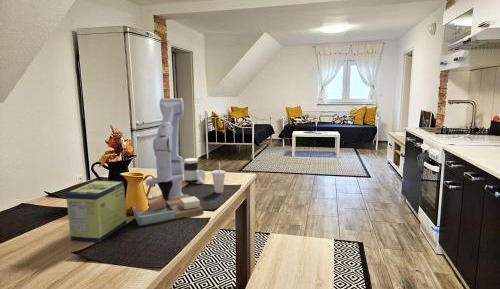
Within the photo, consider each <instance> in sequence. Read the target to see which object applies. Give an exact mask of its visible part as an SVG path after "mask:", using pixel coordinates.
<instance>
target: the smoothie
mask: <svg viewBox="0 0 500 289" xmlns="http://www.w3.org/2000/svg"><path fill="white" fill-rule="evenodd" d="M211 175H212V180H213V187H214V192H215V193H216V194H222V193H224V187H225V186H224V185H225V175H226V170H223V169H221V162H218V169H216V170H212V171H211Z"/></svg>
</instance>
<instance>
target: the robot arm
mask: <svg viewBox="0 0 500 289" xmlns="http://www.w3.org/2000/svg"><path fill="white" fill-rule="evenodd" d="M159 110H160V112H161V115H162V122H161V123H159V125H158V129H157V132H156V137H155V138H154V139H153V140H152V141H153V142H152V149H153V154H154V156H155V164H156V165H155V166H156V177H153V178H148V179H144V180H145V185H146V186H150V185H157V186H158V187H159V190H160V192H161V194H162V195H161V196H163V198H164V199H165V201H167V200H168V197H174V196H180V195H184V193H183V192H182V181H184V160H185V159H183V156H182V157H181V156H180V155H179V128H180V127H179V125H180V120H181V119H183V118H184V114H185V113H184V112H185V103H184V99H183V98H182V97H180V98H179V97H178V98H177V97H176V98H175V97H174V98H170V97H169V98H167V97H166V98H161V99H159Z"/></svg>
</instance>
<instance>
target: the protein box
mask: <svg viewBox="0 0 500 289" xmlns="http://www.w3.org/2000/svg"><path fill="white" fill-rule="evenodd" d="M65 195H66V196H65V197H66V204H67V205H66V206H67V216H68V224H69V225H68V226H69V233H70V235H69V237H70V240H71V241H74V242H75V241H77V242H78V241H79V242H87V243H88V242H91V243H101V242H102V241H104V240H105V239H106V238H108V237H109V236H110V235H112V234H114V233H115V232H116V231H118V230H120V229H121V228H123V227H124V226H125V225H126V224H127V223H128V221H127V219H128V218H127V207H126V196H125V181H123V180H102V179H101V180H99V179H98V180H94V181H92V182H90V183H88V184H85V185H83V186H81V187H78V188H75V189H73V190H70V191H68V192H66V193H65ZM110 237H111V236H110Z"/></svg>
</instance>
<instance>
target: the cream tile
mask: <svg viewBox="0 0 500 289" xmlns="http://www.w3.org/2000/svg"><path fill="white" fill-rule="evenodd" d="M200 201H201V200H200V199H198V198H197V197H196V196H190V197H187V198H181V199H180V205H181V206H182V207H183V208H184V209H190V208H195V207H200V206H201V202H200Z"/></svg>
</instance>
